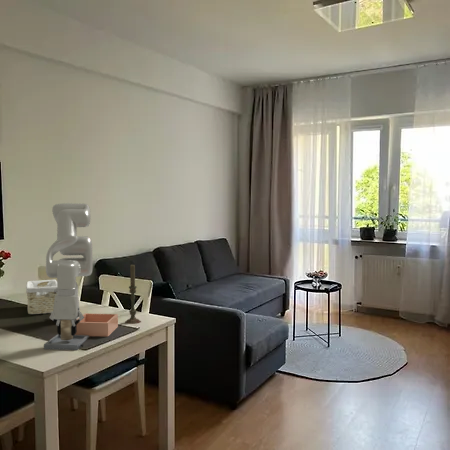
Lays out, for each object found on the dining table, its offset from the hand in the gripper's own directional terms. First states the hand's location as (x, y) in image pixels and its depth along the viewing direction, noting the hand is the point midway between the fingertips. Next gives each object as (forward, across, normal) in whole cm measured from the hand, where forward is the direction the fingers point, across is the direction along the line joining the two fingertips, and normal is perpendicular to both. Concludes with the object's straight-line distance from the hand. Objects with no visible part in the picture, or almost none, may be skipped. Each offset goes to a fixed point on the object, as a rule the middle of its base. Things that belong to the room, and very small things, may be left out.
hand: (67, 334), depth 200 cm
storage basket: (+5, -36, +58) cm, 69 cm away
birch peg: (+2, 0, 0) cm, 2 cm away
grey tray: (+4, 0, 0) cm, 4 cm away
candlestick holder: (+5, +20, +34) cm, 40 cm away
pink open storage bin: (+4, +7, +17) cm, 19 cm away
